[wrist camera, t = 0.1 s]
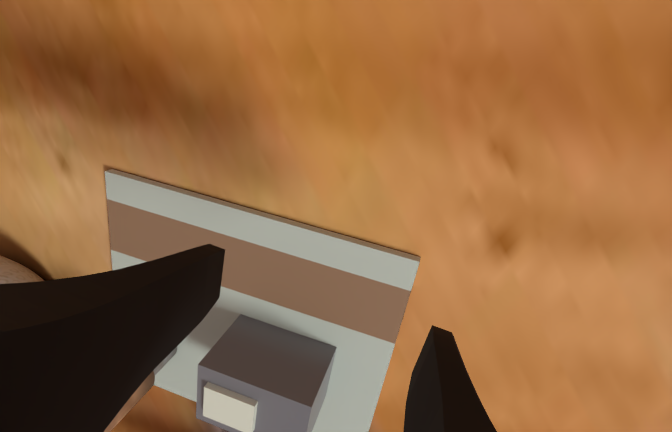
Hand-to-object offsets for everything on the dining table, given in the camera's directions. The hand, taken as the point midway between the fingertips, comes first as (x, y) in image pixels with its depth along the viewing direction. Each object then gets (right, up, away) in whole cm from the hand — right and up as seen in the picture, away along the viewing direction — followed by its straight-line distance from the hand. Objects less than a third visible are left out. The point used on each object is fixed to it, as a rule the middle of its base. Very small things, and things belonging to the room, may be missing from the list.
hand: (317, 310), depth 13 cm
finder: (-3, -7, +14) cm, 16 cm away
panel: (-6, -5, +15) cm, 17 cm away
